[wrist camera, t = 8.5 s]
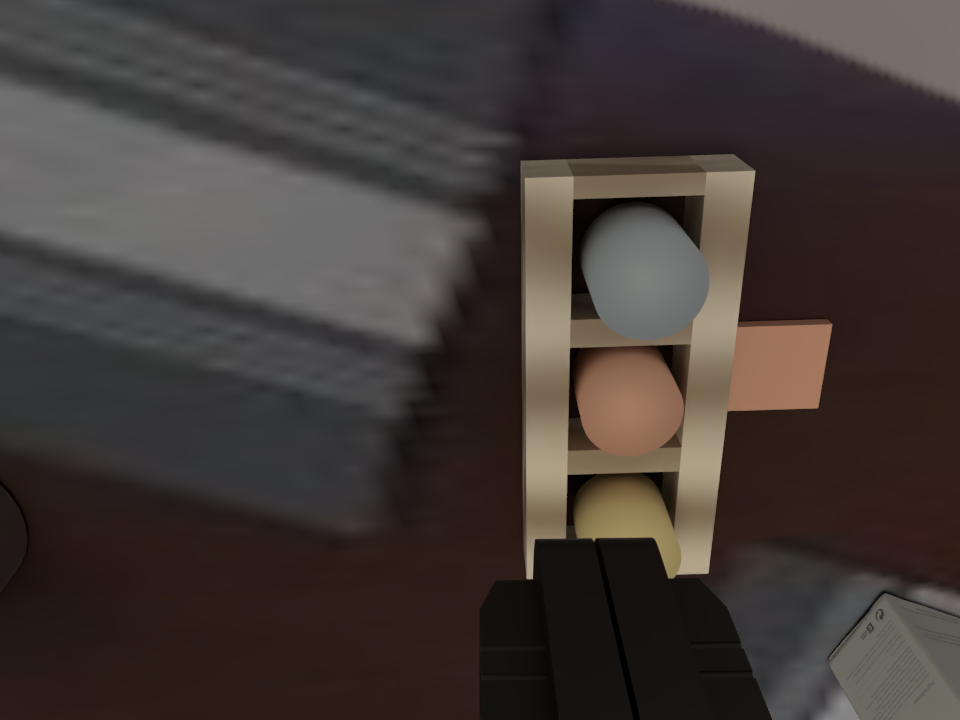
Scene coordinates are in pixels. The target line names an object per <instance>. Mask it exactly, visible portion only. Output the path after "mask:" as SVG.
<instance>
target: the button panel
mask: <svg viewBox="0 0 960 720" xmlns="http://www.w3.org/2000/svg"><path fill="white" fill-rule="evenodd" d="M754 179H755V170H754V169H752V168H751V167H750V166H748V165H747V164H746V163H744V162H743V161H742V160H740V159H739V158H738V157H736V156H735V155H734V154H723V155H691V156H659V157H626V158H594V159H562V160H529V161H521V294H522V448H523V545H524V556H525V566H526V577H527V579H533V560H534V543H535V539H565V538H577V535H576V530H575V525H571V526H566V510H567V475H577V474H609V473H642V472H663V476H662V489H661V495H662V498H663V501H664V504H665V506H666V509H667V512H668V515H669V518H670V520H671V523H672V526H673V529H674V532H675V534H676V537H677V540H678V543H679V546H680V549H681V565H680V567H679V570H678V572H677V574H708V572H709V563H710V555H711V546H712V538H713V529H714V520H715V512H716V503H717V495H718V486H719V478H720V469H721V461H722V452H723V444H724V435H725V426H726V418H727V409H728V401H729V392H730V384H731V375H732V367H733V358H734V350H735V341H736V333H737V324H738V315H739V307H740V298H741V290H742V281H743V273H744V264H745V256H746V247H747V239H748V230H749V221H750V213H751V204H752V196H753V187H754ZM660 196H685V205H684V218H683V230H684V231H685V233H686V234H687V235H688V237H689V238H690V239H691V241H692V242H693V243H694V244H695V246H696V247H697V248H698V250H699V251H700V252H701V254H702V255H703V257H704V259H705V261H706V264H707V267H708V271H709V278H710V279H709V290H708V295H707V298H706V301H705V303H704V305H703V307H702V309H701V310H700V312H699V313H698V315H697V316H696V317H695V318H694V319H693V320H692V321H691V322H690V323H689V324H688V325H687V326H686V327H684V328H683V329H682V330H680V331H678V332H677V333H675V334H672V335H670V336H668V337H665V338H661V339H657V340H648V341H644V340H634V339H630V338H626V337H624V336H621V335H619V334H617V333H616V332H614V331H613V330H611V329H610V328H609V327H608V326H607V325H606V324H605V323H604V322H603V321H602V319H601V318H600V317H599V315H598V313H597V311H596V309H595V306H594V303H593V300H592V297H591V295H590V293H579V294H571V277H572V230H573V199H595V198H627V197H660ZM649 345H673V353H672V365H671V374H672V376H673V378H674V380H675V382H676V384H677V387H678V389H679V391H680V393H681V395H682V398H683V404H684V412H683V418H682V421H681V424H680V426H679V428H678V430H677V431H676V433H675V434H674V435H673V436H672V438H671V439H670V440H669V441H668V442H666V443H665V444H664V445H662V446H661V447H659V448H658V449H656V450H654V451H652V452H649V453H646V454H643V455H638V456H618V455H614V454H610V453H608V452H605V451H603V450H602V449H600V448H598V447H597V446H596V445H595V444H594V443H592V442H591V440H590V439H589V438H588V437H587V435H586V433H585V431H584V428H583V425H582V421H581V417H578V418H568V417H569V370H570V348H584V347H617V346H649ZM677 574H676V575H677Z"/></svg>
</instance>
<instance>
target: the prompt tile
mask: <svg viewBox="0 0 960 720" xmlns="http://www.w3.org/2000/svg"><path fill="white" fill-rule="evenodd" d="M831 330H832V323H831V322H830V321H829V320H828V319H813V320H780V321H748V322H738V324H737V333H736V341H735V350H734V358H733V367H732V375H731V384H730V392H729V401H728V409H727V411H746V410H778V409H811V408H818V405H819V400H820V394H821V388H822V382H823V376H824V370H825V365H826V359H827V353H828V347H829V341H830V335H831Z"/></svg>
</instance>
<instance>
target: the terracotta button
mask: <svg viewBox="0 0 960 720" xmlns="http://www.w3.org/2000/svg"><path fill="white" fill-rule="evenodd" d="M571 379H572V384H573V388H574V392H575V396H576V401H577V405H578V409H579V413H580V417H581V421H582V425H583V428H584V431H585V433H586V435H587V437H588V438H589V439H590V440H591V442H592V443H594V444H595V445H596V446H597V447H598V448H600V449H602V450H603V451H605V452H608V453H610V454H614V455H618V456H638V455H643V454H646V453H649V452H652V451H654V450H656V449H658V448H659V447H661V446H662V445H664V444H665V443H666V442H668V441H669V440H670V439H671V438H672V436H673V435H674V434H675V433H676V431H677V430H678V428H679V426H680V424H681V421H682V418H683V412H684V404H683V398H682V395H681V393H680V391H679V389H678V387H677V384H676V382H675V380H674V378H673V376H672V374H671V372H670V370H669V368H668V366H667V364H666V362H665V360H664V358H663V355H662V353H661V351H660V349H659V348H658V346H657V345H649V346H617V347H584V348H580V349H579V350H578V352H577V353H576V355H575V357H574V360H573V363H572V367H571Z"/></svg>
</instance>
